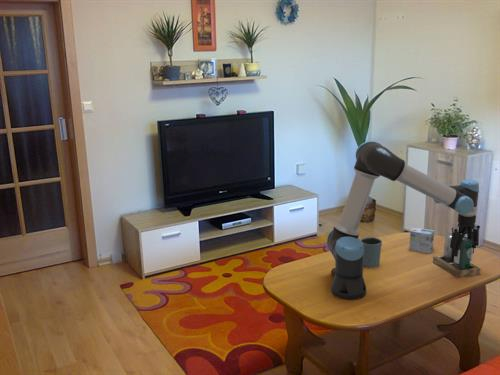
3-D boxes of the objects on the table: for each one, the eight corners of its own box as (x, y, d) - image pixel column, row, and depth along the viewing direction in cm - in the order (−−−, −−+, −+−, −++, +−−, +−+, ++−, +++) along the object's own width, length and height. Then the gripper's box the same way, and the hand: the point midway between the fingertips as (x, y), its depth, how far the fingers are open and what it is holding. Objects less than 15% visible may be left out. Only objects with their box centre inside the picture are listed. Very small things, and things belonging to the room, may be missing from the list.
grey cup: (360, 267, 246) (360, 244, 243) (359, 259, 256) (360, 236, 253) (381, 268, 245) (382, 245, 241) (380, 260, 254) (381, 237, 251)
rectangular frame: (459, 278, 232) (459, 272, 231) (432, 262, 249) (433, 256, 249) (480, 274, 235) (480, 268, 234) (452, 259, 253) (453, 253, 252)
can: (470, 272, 234) (473, 241, 230) (456, 271, 236) (459, 241, 232) (467, 266, 240) (470, 237, 236) (454, 266, 241) (456, 236, 237)
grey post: (449, 268, 242) (451, 238, 238) (440, 263, 248) (442, 234, 244) (459, 266, 244) (462, 237, 240) (450, 261, 250) (453, 232, 246)
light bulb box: (433, 249, 265) (434, 230, 262) (430, 254, 259) (431, 234, 257) (412, 246, 270) (413, 226, 268) (408, 250, 265) (410, 230, 262)
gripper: (454, 219, 225) (450, 267, 231) (490, 214, 230) (485, 261, 236) (443, 214, 231) (439, 261, 238) (479, 209, 237) (474, 255, 243)
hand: (462, 261), depth 237 cm, fingers closed on can, 6 cm apart
